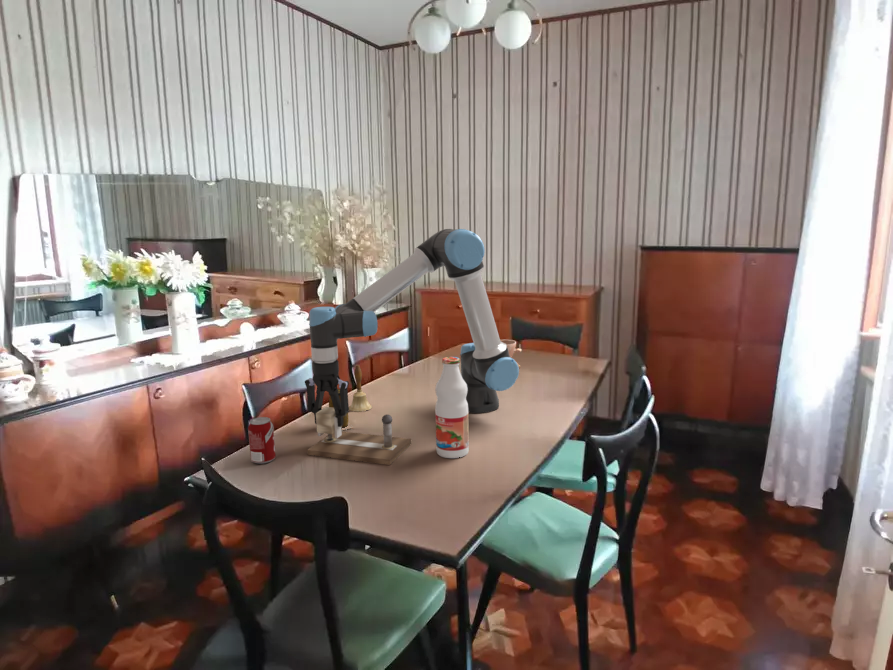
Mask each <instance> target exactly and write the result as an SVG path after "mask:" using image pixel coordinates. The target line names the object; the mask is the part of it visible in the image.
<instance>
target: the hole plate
mask: <svg viewBox="0 0 893 670" xmlns="http://www.w3.org/2000/svg"><path fill="white" fill-rule="evenodd" d="M392 422H393V417H392V416H391V415H390V414H384V415H383V416H382V418H381V423H382V431H383V432H382V433H383V435H379V434H371V433H370V434H367V433H361V432H353V431H352V432H351V431H342V435H341V436H340V437H338V438H335V432H334V433H333V434H332V439H328V434H326V436H325V437H323V438H321V439H320V440H319V441H318V442H316V443H314V444H313V445H312V446H310V447H309V448H308V449H307V451H306V453H307V455H308V456H314V455H315V456H316V457H323V458H330V457H331V459H340V460H347V461H354V460H355V462H362V461H363V463H370V462H371V463H370V464H378V465H386V466H387V465H388V466H390V465H392V462H393V463H394V462H395V460H397V459H396V458H397V457H398V456H399V455H400V454H401V453H402V452H403V451H404V450H405V449H406V448H407V447H408V446H409V445H410V444H411V445H412V438H407V437H406V438H404V437H397V436H393V430H392V428H393V427H392ZM411 445H410V446H411ZM410 446H409V447H410ZM409 447H408V448H409ZM408 448H407V449H408ZM407 449H406V450H407ZM406 450H405V451H406ZM405 451H404V452H405ZM404 452H403V453H404ZM403 453H402V454H403ZM402 454H401V455H402ZM401 455H400V456H401ZM315 456H314V457H315ZM400 456H399V457H400ZM399 457H398V458H399Z"/></svg>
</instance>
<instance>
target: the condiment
mask: <svg viewBox="0 0 893 670" xmlns="http://www.w3.org/2000/svg"><path fill="white" fill-rule="evenodd" d="M338 395H339V398H340V388H338ZM328 396H329V399H328V407H333V408H334V406H333V403H332V400H331V396H330V395H328ZM340 402H341V400H340ZM348 423H349V412H348V413H347V414H345V415H343V426H342V427H341V429H342V428H345V427H347V426H348ZM350 428H351V427H350ZM341 431H343V430H341ZM346 431H348V430H347V429H346ZM343 432H344V431H343Z"/></svg>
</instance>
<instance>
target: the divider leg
mask: <svg viewBox="0 0 893 670" xmlns="http://www.w3.org/2000/svg"><path fill="white" fill-rule="evenodd" d="M335 416H336V413H335V410H334V408H333V407H329V406H325V407H324V408H321V410H320V411H318V412H317V413H316V424H315V425H316V433H317V434H318V433H324V434H326V435H328V439H332V434H333V433H334V432H335V427H334V417H335ZM341 427H342V426H341Z"/></svg>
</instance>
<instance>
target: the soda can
mask: <svg viewBox="0 0 893 670" xmlns="http://www.w3.org/2000/svg"><path fill="white" fill-rule="evenodd" d="M247 431H248V432H247V433H248V442H249V444H248V445H249V454H250V455H249V456H250V462H252V463H253V464H254V463H255V464H258V465H265V464H270V463H271V462H273V461H274V460H275V459H276V458H277V457H276V455H277V454H276V446H275V445H276V443H275V429H274V424H273V423H272V421H271V418H270V417H266V416H260V417H259V416H258V417H254V418H252V419H250V420H249V425H248V427H247Z"/></svg>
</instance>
